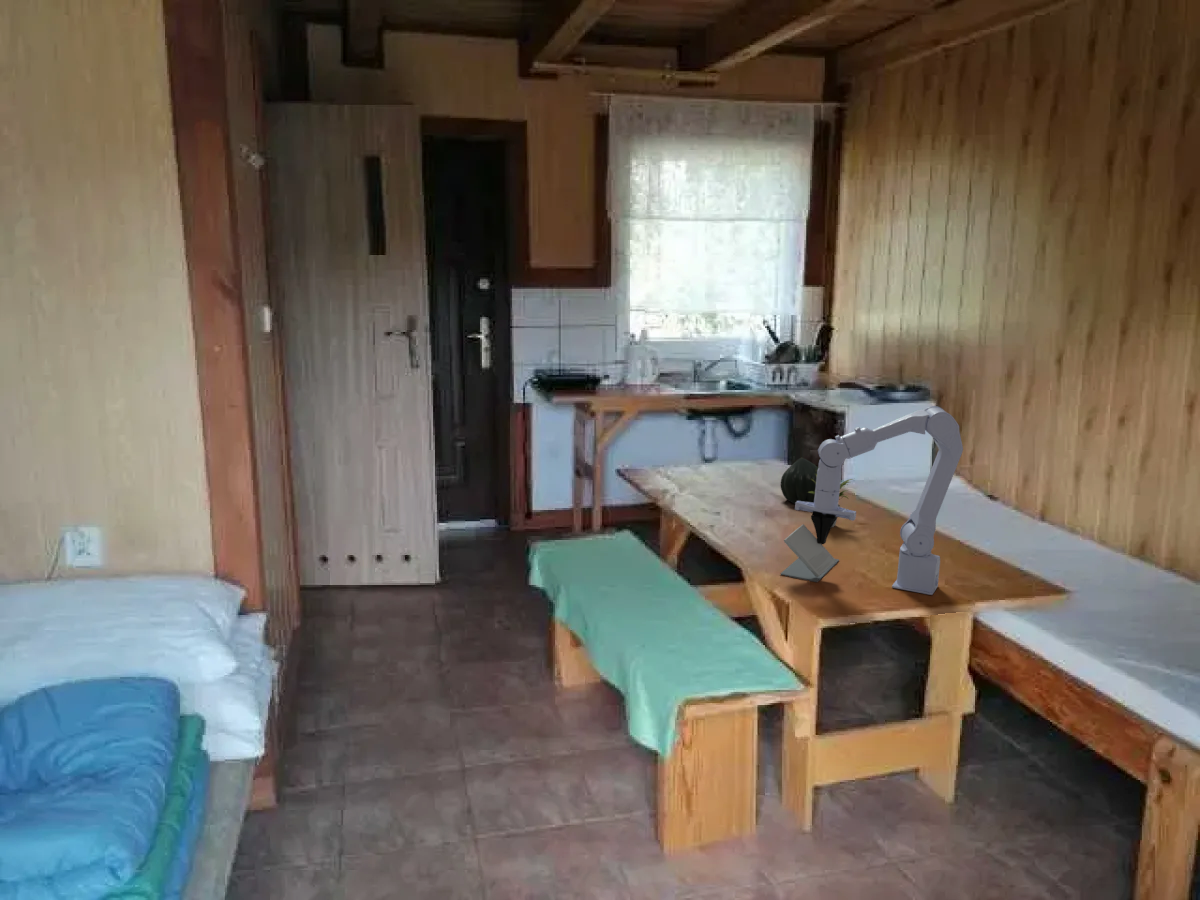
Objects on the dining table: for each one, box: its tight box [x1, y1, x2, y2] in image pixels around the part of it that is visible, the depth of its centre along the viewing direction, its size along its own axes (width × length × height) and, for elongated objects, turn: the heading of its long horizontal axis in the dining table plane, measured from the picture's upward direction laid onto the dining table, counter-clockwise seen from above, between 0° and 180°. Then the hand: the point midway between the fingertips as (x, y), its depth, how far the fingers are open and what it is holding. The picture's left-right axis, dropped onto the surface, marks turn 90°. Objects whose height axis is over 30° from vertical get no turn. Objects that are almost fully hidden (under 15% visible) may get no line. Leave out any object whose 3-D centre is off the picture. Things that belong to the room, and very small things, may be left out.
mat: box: [779, 557, 840, 583], centre depth 239 cm, size 10×20×1 cm, turn 151°
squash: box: [780, 457, 819, 504], centre depth 303 cm, size 14×15×15 cm
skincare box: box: [783, 523, 836, 577], centre depth 230 cm, size 6×4×12 cm
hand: (821, 542), depth 228 cm, fingers closed
